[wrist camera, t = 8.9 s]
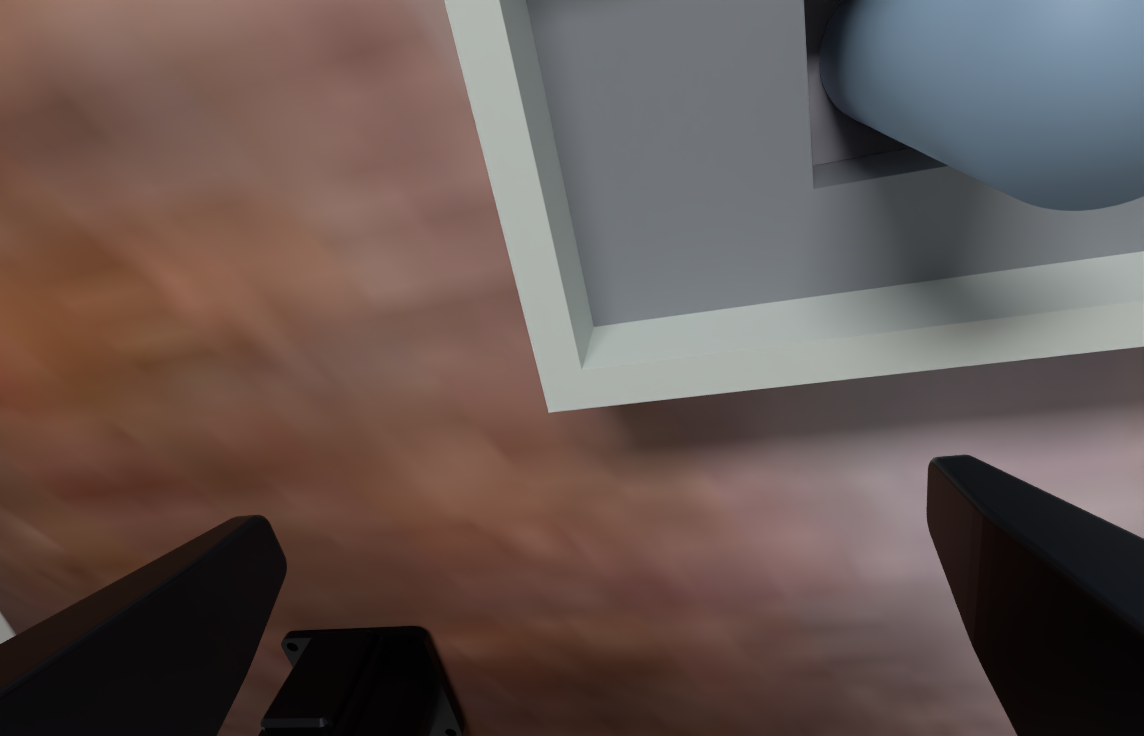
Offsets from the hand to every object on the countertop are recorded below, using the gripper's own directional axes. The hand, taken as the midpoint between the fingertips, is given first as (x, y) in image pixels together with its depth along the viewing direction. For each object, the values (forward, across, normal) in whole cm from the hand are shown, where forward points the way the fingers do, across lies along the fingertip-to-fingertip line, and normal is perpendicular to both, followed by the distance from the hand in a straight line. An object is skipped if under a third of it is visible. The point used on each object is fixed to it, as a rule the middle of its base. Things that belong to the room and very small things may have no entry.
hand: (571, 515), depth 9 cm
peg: (+11, -7, -4) cm, 14 cm away
